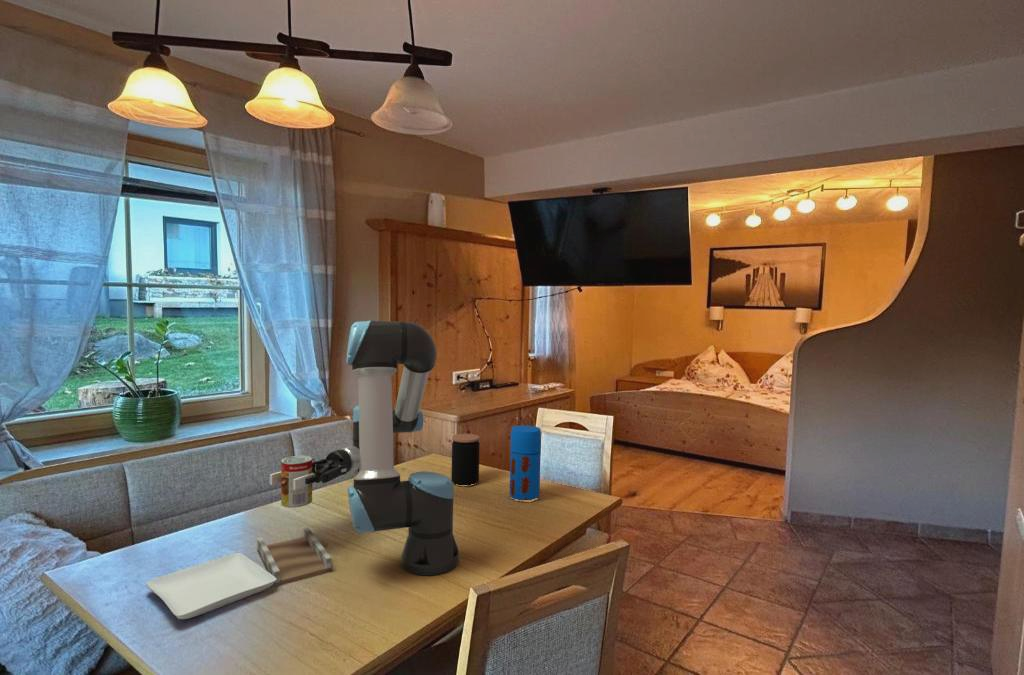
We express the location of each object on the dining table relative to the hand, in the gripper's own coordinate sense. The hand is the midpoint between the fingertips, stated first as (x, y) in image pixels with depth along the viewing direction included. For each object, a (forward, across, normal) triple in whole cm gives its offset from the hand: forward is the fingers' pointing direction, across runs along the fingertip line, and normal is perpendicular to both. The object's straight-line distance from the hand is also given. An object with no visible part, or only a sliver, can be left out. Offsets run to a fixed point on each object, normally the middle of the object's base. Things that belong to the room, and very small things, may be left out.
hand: (282, 482), depth 139 cm
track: (0, -4, -20) cm, 21 cm away
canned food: (-5, 0, -7) cm, 9 cm away
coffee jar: (-75, -13, -20) cm, 79 cm away
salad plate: (+20, 0, -21) cm, 29 cm away
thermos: (-72, -40, -20) cm, 84 cm away
